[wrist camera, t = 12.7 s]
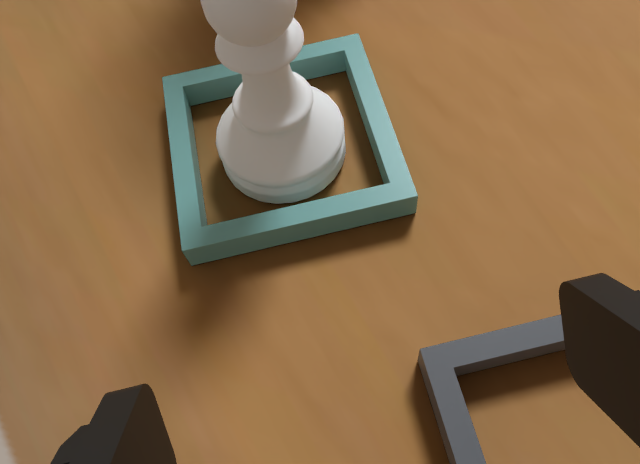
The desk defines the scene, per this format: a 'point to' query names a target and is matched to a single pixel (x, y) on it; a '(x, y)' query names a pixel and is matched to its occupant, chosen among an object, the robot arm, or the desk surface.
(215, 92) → the frame
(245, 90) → the chess pawn
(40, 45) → the desk surface
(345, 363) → the desk surface
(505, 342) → the charcoal port
